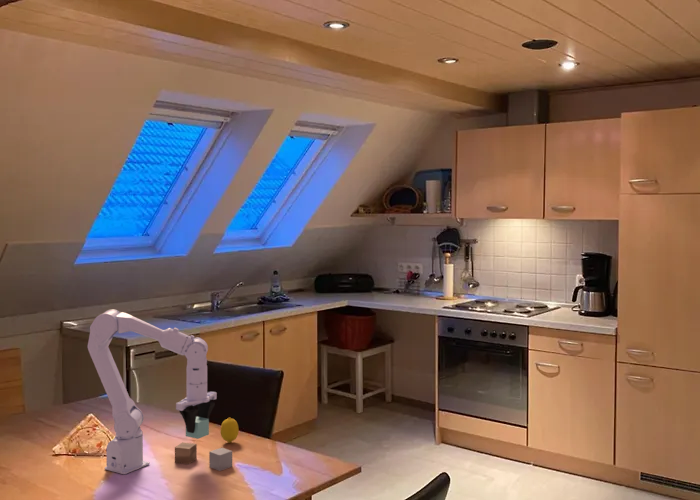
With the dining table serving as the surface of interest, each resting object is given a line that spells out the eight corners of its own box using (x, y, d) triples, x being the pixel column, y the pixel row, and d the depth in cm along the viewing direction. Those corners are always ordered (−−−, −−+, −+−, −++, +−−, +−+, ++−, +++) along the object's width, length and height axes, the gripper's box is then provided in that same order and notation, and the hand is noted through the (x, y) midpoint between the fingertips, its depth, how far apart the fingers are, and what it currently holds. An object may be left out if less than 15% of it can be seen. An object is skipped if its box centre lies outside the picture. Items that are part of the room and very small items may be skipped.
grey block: (219, 471, 192) (219, 455, 192) (209, 467, 195) (209, 451, 194) (232, 466, 195) (232, 451, 195) (222, 463, 198) (221, 447, 198)
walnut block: (189, 464, 197) (189, 448, 197) (174, 462, 198) (174, 447, 198) (196, 459, 201) (196, 443, 201) (182, 457, 202) (182, 442, 202)
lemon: (234, 446, 212) (234, 420, 211) (217, 445, 213) (217, 419, 213) (241, 440, 217) (241, 415, 217) (224, 439, 218) (224, 414, 218)
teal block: (197, 438, 193) (197, 422, 193) (185, 436, 195) (185, 420, 195) (208, 434, 197) (208, 418, 197) (196, 431, 199) (196, 416, 199)
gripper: (189, 389, 187) (189, 439, 188) (224, 378, 200) (224, 425, 200) (170, 386, 191) (170, 434, 191) (206, 375, 203) (206, 421, 204)
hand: (197, 429), depth 196 cm, fingers closed on teal block, 4 cm apart
